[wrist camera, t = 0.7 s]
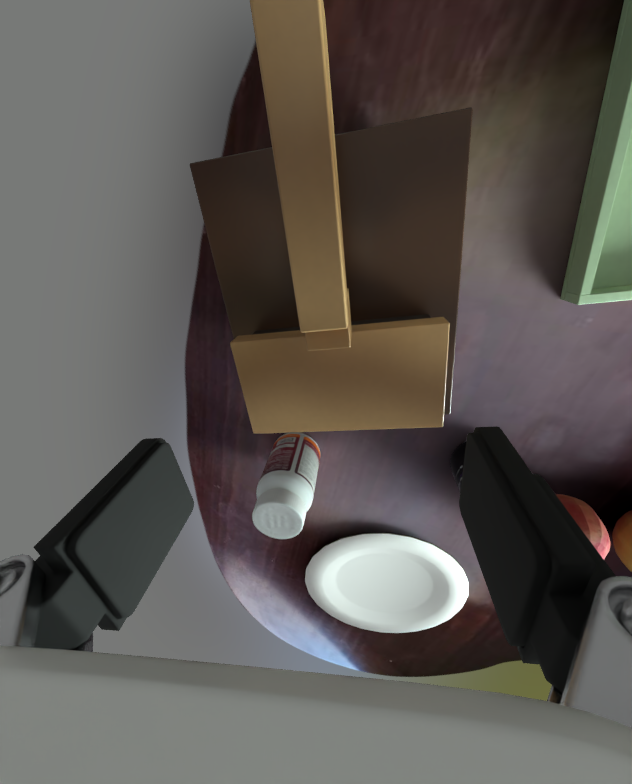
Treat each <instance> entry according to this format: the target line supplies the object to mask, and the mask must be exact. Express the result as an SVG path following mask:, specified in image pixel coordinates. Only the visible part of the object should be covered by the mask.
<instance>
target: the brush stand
mask: <svg viewBox="0 0 632 784" xmlns="http://www.w3.org/2000/svg"><path fill="white" fill-rule="evenodd" d="M471 123H472V108H466V109H461V110H456V111H451V112H446V113H441V114H436V115H431V116H426V117H421V118H416V119H411V120H406V121H401V122H396V123H391V124H386V125H381V126H376V127H371V128H366V129H361V130H356V131H351V132H346V133H341V134H336V135H335V146H336V159H337V171H338V184H339V196H340V208H341V221H342V233H343V246H344V258H345V271H346V283H347V288H348V289H349V301H350V313H351V322H352V321H362V320H373V319H383V318H394V317H404V316H414V315H425V314H428V315H430V317H431V318H435V317H444V318H445V319H446V320H447V321H448V322H449V323H450V328H449V344H448V359H447V375H446V391H445V407H444V414H450V410H451V397H452V383H453V369H454V356H455V342H456V328H457V315H458V301H459V287H460V274H461V260H462V246H463V232H464V219H465V205H466V191H467V178H468V164H469V150H470V137H471ZM190 168H191V172H192V176H193V180H194V184H195V188H196V192H197V196H198V200H199V203H200V207H201V211H202V215H203V219H204V223H205V227H206V231H207V235H208V239H209V243H210V247H211V251H212V255H213V259H214V263H215V267H216V271H217V275H218V279H219V283H220V287H221V291H222V295H223V299H224V303H225V306H226V310H227V314H228V318H229V322H230V326H231V330H232V334H233V338H234V339H235V338H236V337H237V336H243V335H252V334H253V333H254V332H255V331H258V330H268V329H279V328H289V327H299V319H298V313H297V306H296V299H295V293H294V286H293V280H292V273H291V267H290V260H289V254H288V247H287V241H286V234H285V228H284V221H283V215H282V208H281V201H280V195H279V188H278V182H277V175H276V169H275V162H274V156H273V149H272V147H270V148H265V149H260V150H255V151H250V152H245V153H240V154H235V155H230V156H225V157H220V158H215V159H210V160H205V161H200V162H195V163H191V164H190Z"/></svg>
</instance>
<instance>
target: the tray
mask: <svg viewBox="0 0 632 784" xmlns="http://www.w3.org/2000/svg"><path fill="white" fill-rule="evenodd" d="M560 299H562V300H565V301H568V302H571V303H574V304H577V305H581V304H592V303H602V302H613V301H624V300H632V0H624V3H623V8H622V13H621V18H620V22H619V27H618V32H617V36H616V41H615V46H614V50H613V55H612V60H611V64H610V69H609V74H608V78H607V83H606V88H605V92H604V97H603V102H602V106H601V111H600V116H599V120H598V125H597V130H596V134H595V139H594V144H593V148H592V153H591V158H590V162H589V167H588V172H587V176H586V181H585V186H584V191H583V195H582V200H581V205H580V209H579V214H578V219H577V223H576V228H575V233H574V237H573V242H572V247H571V251H570V256H569V261H568V265H567V270H566V275H565V279H564V284H563V289H562V293H561V298H560Z"/></svg>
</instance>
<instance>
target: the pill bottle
mask: <svg viewBox="0 0 632 784" xmlns="http://www.w3.org/2000/svg"><path fill="white" fill-rule="evenodd" d="M319 461H320V449H319V447H318V445H317V443H316V442H315V441H314V440H313V439H312V438H311V437H309V436H308V435H306V434H303V433H299V432H290V433H286V434H284V435H282V436H280V437H279V438H278V439H277V440H276V442H275V444H274V446H273V448H272V451H271V453H270V456H269V458H268V461H267V463H266V466H265V469H264V471H263V473H262V476H261V478H260V480H259V483H258V486H257V491H256V495H257V502H256V505H255V508H254V510H253V513H252V519H253V523H254V525H255V526H256V528H257V529H258V530H259V531H261V532H262V533H263V534H265V535H267V536H269V537H272V538H276V539H288V538H292V537H295V536H296V535H298V534H299V533H300V532H301V530H302V528H303V525H304V520H305V517H306V512H307V511H308V510H309V508H310V506H311V504H312V501H313V495H314V490H315V484H316V478H317V472H318V467H319Z"/></svg>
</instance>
